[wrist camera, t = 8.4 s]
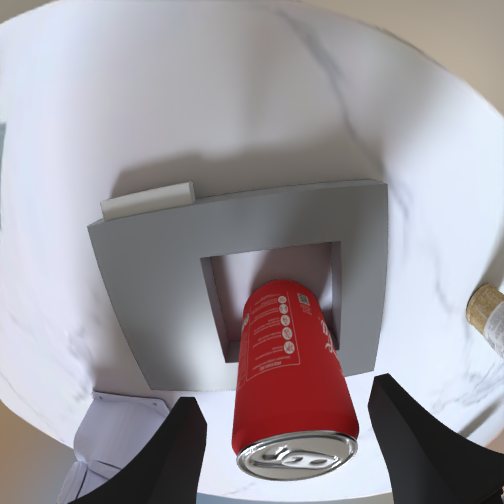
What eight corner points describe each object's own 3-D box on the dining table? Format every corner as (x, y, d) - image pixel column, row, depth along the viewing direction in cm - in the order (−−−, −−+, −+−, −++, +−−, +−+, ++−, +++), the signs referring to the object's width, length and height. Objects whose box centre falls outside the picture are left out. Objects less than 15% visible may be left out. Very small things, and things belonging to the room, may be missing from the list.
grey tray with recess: (158, 370, 22) (151, 389, 20) (102, 200, 17) (82, 207, 14) (364, 351, 21) (373, 370, 18) (369, 160, 16) (386, 162, 13)
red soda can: (263, 261, 18) (269, 417, 7) (329, 290, 19) (390, 435, 8) (232, 320, 20) (211, 471, 9) (294, 343, 20) (314, 485, 9)
